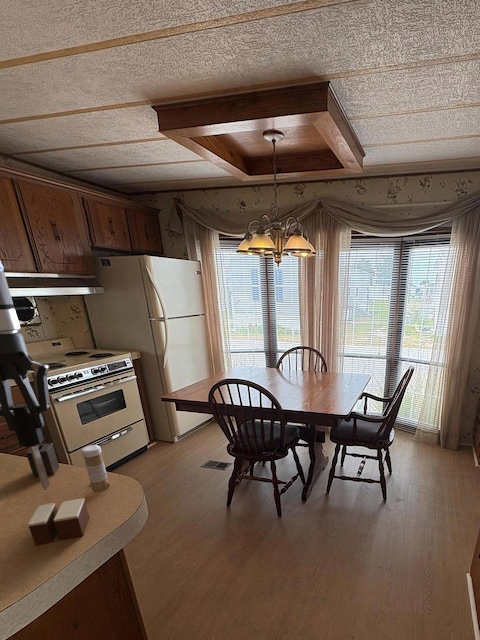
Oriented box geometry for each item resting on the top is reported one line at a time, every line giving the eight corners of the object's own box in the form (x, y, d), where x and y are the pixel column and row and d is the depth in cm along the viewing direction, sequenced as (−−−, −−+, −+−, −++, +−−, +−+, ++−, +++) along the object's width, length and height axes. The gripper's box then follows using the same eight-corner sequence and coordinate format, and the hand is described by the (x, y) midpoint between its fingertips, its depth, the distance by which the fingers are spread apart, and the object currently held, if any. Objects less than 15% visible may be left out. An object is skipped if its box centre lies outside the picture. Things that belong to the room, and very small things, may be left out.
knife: (43, 484, 80) (16, 403, 73) (53, 483, 81) (28, 403, 73) (39, 491, 78) (11, 408, 70) (50, 489, 79) (23, 407, 71)
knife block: (41, 473, 109) (32, 445, 105) (60, 471, 111) (52, 443, 107) (35, 482, 104) (25, 453, 100) (55, 479, 106) (46, 450, 102)
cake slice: (45, 525, 86) (38, 505, 84) (61, 522, 87) (54, 502, 85) (35, 545, 79) (27, 524, 77) (52, 542, 80) (45, 521, 78)
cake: (68, 521, 88) (62, 501, 85) (89, 517, 90) (84, 497, 87) (60, 540, 81) (53, 519, 79) (83, 536, 83) (77, 515, 80)
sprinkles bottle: (98, 484, 104) (87, 444, 99) (113, 484, 104) (103, 444, 99) (88, 492, 100) (77, 451, 95) (104, 492, 100) (93, 451, 95)
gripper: (-68, 334, 60) (-20, 454, 69) (38, 333, 66) (69, 444, 75) (-45, 330, 66) (-5, 440, 75) (49, 329, 72) (76, 432, 81)
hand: (32, 442), depth 75 cm, fingers closed on knife, 2 cm apart
